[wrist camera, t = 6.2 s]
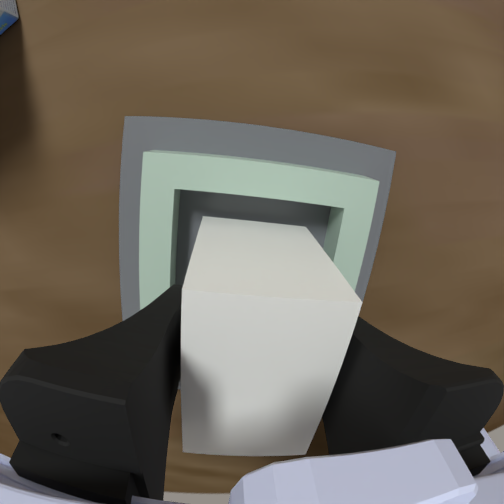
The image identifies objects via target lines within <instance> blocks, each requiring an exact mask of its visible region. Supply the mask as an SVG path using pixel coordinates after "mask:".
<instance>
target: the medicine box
mask: <svg viewBox="0 0 504 504" xmlns="http://www.w3.org/2000/svg"><path fill="white" fill-rule="evenodd" d="M18 18H19V16H18V12H17V6H16V0H0V35H1V34H2V33H3V32H4V31H5V30H6V29H7V28H9V27H10V26H11V25H12V24H13V23H14V22H15V21H17V20H18Z"/></svg>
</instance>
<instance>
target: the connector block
mask: <svg viewBox="0 0 504 504" xmlns="http://www.w3.org/2000/svg"><path fill="white" fill-rule="evenodd" d="M361 305H362V301H361V300H360V298H359V297H358V296H357V294H356V293H355V291H354V290H353V289H352V287H351V286H350V285H349V283H348V282H347V280H346V279H345V278H344V276H343V275H342V274H341V272H340V271H339V270H338V268H337V267H336V266H335V264H334V263H333V262H332V260H331V259H330V258H329V256H328V255H327V254H326V252H325V251H324V250H323V248H322V247H321V246H320V244H319V243H318V242H317V240H316V239H315V238H314V237H313V235H312V234H311V233H310V231H309V230H308V229H307V228H306V227H304V226H295V225H286V224H277V223H267V222H258V221H248V220H238V219H228V218H217V217H207V216H203V218H202V221H201V224H200V228H199V231H198V234H197V238H196V241H195V245H194V248H193V252H192V255H191V259H190V262H189V266H188V269H187V273H186V276H185V280H184V284H183V287H182V304H181V413H182V440H183V452H187V453H198V454H212V455H232V456H287V455H305V454H306V452H307V450H308V448H309V445H310V443H311V441H312V439H313V436H314V434H315V432H316V429H317V427H318V425H319V422H320V420H321V418H322V415H323V413H324V410H325V408H326V405H327V403H328V400H329V398H330V395H331V393H332V390H333V387H334V385H335V382H336V379H337V377H338V374H339V371H340V369H341V366H342V363H343V360H344V357H345V354H346V352H347V349H348V346H349V343H350V340H351V337H352V334H353V331H354V328H355V324H356V321H357V318H358V315H359V312H360V308H361Z"/></svg>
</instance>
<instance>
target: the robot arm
mask: <svg viewBox="0 0 504 504" xmlns="http://www.w3.org/2000/svg"><path fill="white" fill-rule="evenodd" d="M182 287H183V285H177V284H173V285H172V286H171V287H170V288H168V289H167V290H166V291H165V292H163V293H162V294H161V295H160V296H159V297H157V298H156V299H155V300H154V301H152V302H151V303H150V304H149V305H147V306H146V307H144V308H143V309H141V310H140V311H138V312H137V313H135V314H134V315H133V316H131V317H129V318H128V319H126V320H124V321H122V322H120V323H118V324H116V325H114V326H112V327H110V328H108V329H106V330H103V331H101V332H98V333H95V334H93V335H90V336H88V337H85V338H81V339H78V340H74V341H71V342H66V343H62V344H58V345H52V346H45V347H38V348H31V349H24V351H23V352H22V353H21V354H20V356H19V357H18V358H17V359H16V361H15V362H14V363H13V365H12V366H11V367H10V369H9V370H8V372H7V373H6V374H5V376H4V377H3V378H2V380H1V382H0V402H1V405H2V408H3V410H4V412H5V414H6V416H7V418H8V420H9V422H10V424H11V426H12V427H13V429H14V431H15V433H16V435H17V436H18V438H19V440H20V441H19V443H18V445H17V447H16V449H15V451H14V453H13V455H12V457H11V458H10V457H7V456H5V455H3V454H1V453H0V504H185V503H177V502H169V501H163V495H164V481H165V468H166V457H167V448H168V438H169V430H170V422H171V415H172V410H173V405H174V401H175V397H176V393H177V390H178V386H179V382H180V378H181V304H182ZM503 390H504V385H503V383H502V381H501V380H500V378H499V377H498V376H497V375H496V374H495V373H494V372H493V371H492V370H491V369H489V368H483V367H477V366H471V365H465V364H460V363H456V362H453V361H449V360H445V359H442V358H439V357H436V356H433V355H430V354H427V353H425V352H422V351H420V350H417V349H415V348H412V347H410V346H408V345H406V344H404V343H402V342H400V341H398V340H396V339H394V338H392V337H390V336H388V335H387V334H385V333H383V332H382V331H380V330H378V329H377V328H375V327H374V326H372V325H370V324H369V323H367V322H366V321H364V320H363V319H361V318H360V317H359V316H358V318H357V321H356V324H355V328H354V331H353V334H352V337H351V340H350V343H349V346H348V349H347V352H346V354H345V357H344V360H343V363H342V366H341V369H340V371H339V374H338V377H337V379H336V382H335V385H334V387H333V390H332V393H331V395H330V398H329V400H328V403H327V405H326V408H325V410H324V413H323V415H322V418H323V422H324V427H325V432H326V438H327V444H328V450H329V455H327V456H314V457H303V458H298V459H292V460H286V461H280V462H273V463H271V464H269V465H267V466H264V467H262V468H259V469H257V470H255V471H252V472H250V473H247V474H246V475H245V476H243V477H242V478H241V479H240V481H239V482H238V483H237V484H236V485H235V486H234V488H233V489H232V490H231V493H230V498H229V503H228V504H504V451H503V452H501V453H500V452H499V450H498V448H497V447H496V445H495V444H494V442H493V441H492V439H491V438H490V436H489V435H488V433H487V432H486V431H485V429H484V428H483V427H484V426H485V425H486V423H487V422H488V420H489V419H490V418H491V416H492V415H493V413H494V412H495V410H496V409H497V407H498V405H499V403H500V401H501V399H502V396H503Z"/></svg>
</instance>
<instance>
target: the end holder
mask: <svg viewBox="0 0 504 504" xmlns="http://www.w3.org/2000/svg"><path fill="white" fill-rule="evenodd" d="M395 156H396V151H392V150H388V149H384V148H380V147H375V146H371V145H367V144H362V143H358V142H353V141H348V140H344V139H339V138H334V137H328V136H323V135H318V134H312V133H306V132H300V131H294V130H288V129H281V128H274V127H267V126H260V125H252V124H243V123H234V122H224V121H214V120H202V119H188V118H171V117H145V116H125V121H124V132H123V143H122V157H121V174H120V198H119V262H120V287H121V304H122V318H123V321H124V320H126V319H128V318H129V317H131V316H133V315H134V314H135V313H137V312H138V311H140V310H141V309H143V308H144V307H146V306H147V305H149V304H150V303H151V302H152V301H154V300H155V299H156V298H157V297H159V296H160V295H161V294H162V293H163V292H165V291H166V290H167V289H168V288H170V287H171V286H172V285H173V284H177V285H183V284H184V280H185V276H186V273H187V269H188V266H189V262H190V259H191V255H192V252H193V248H194V245H195V241H196V238H197V234H198V231H199V228H200V224H201V221H202V218H203V216H207V217H217V218H228V219H238V220H248V221H258V222H267V223H277V224H286V225H295V226H304V227H306V228H307V229H308V230H309V231H310V233H311V234H312V235H313V237H314V238H315V239H316V240H317V242H318V243H319V244H320V246H321V247H322V248H323V250H324V251H325V252H326V254H327V255H328V256H329V258H330V259H331V260H332V262H333V263H334V264H335V266H336V267H337V268H338V270H339V271H340V272H341V274H342V275H343V276H344V278H345V279H346V280H347V282H348V283H349V285H350V286H351V287H352V289H353V290H354V291H355V293H356V294H357V296H358V297H359V298H360V300H361V301H362V302H363V299H364V295H365V292H366V288H367V284H368V281H369V277H370V273H371V270H372V266H373V262H374V258H375V254H376V250H377V246H378V241H379V237H380V233H381V229H382V224H383V219H384V215H385V210H386V205H387V200H388V195H389V190H390V185H391V179H392V174H393V168H394V162H395ZM360 309H361V308H360ZM178 389H181V378H180V382H179V386H178Z"/></svg>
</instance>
